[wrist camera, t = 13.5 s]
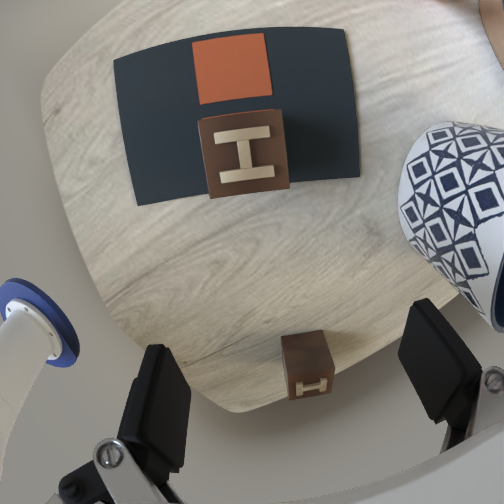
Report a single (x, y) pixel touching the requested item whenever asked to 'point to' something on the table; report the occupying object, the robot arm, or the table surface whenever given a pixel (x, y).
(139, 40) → the table surface
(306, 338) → the block
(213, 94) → the word mat
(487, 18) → the alarm clock
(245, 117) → the block
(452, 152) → the planter
